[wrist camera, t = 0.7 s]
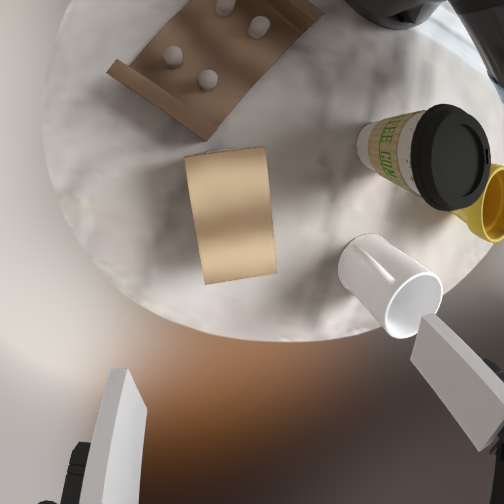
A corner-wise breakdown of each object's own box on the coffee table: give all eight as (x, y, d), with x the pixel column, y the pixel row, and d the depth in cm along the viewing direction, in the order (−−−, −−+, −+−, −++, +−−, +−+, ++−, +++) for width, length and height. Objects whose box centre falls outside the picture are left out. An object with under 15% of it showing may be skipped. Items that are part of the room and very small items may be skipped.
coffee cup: (335, 113, 32) (416, 105, 18) (400, 105, 32) (488, 103, 19) (350, 192, 36) (428, 228, 22) (411, 177, 36) (495, 204, 22)
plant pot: (479, 165, 37) (524, 177, 28) (467, 225, 41) (509, 246, 32) (439, 148, 35) (489, 157, 26) (426, 217, 39) (472, 239, 30)
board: (186, 156, 27) (184, 157, 25) (259, 146, 28) (265, 147, 25) (204, 271, 32) (205, 284, 29) (270, 261, 33) (276, 273, 30)
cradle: (226, -27, 23) (231, -50, 18) (306, 29, 28) (324, 13, 22) (120, 82, 27) (106, 72, 22) (205, 141, 31) (206, 141, 26)
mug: (310, 248, 37) (352, 295, 26) (358, 202, 36) (417, 230, 25) (357, 302, 42) (400, 352, 31) (399, 261, 40) (452, 300, 29)
